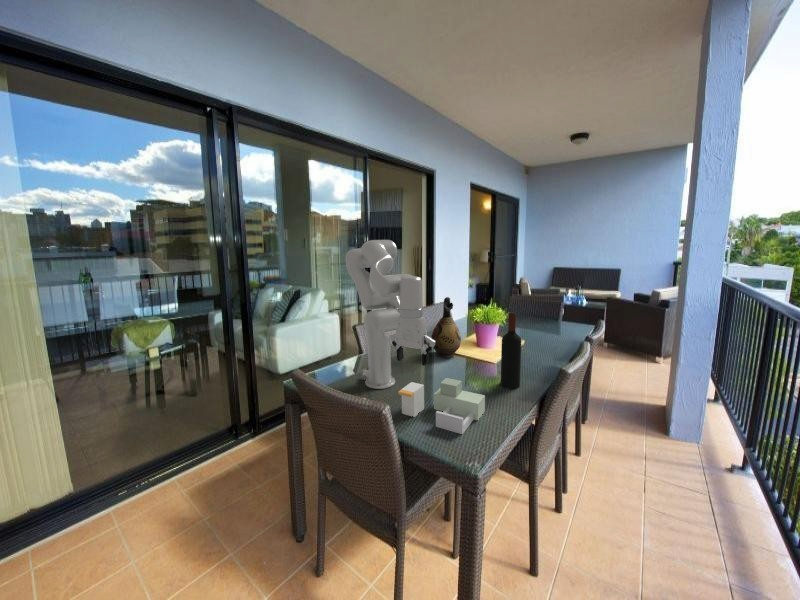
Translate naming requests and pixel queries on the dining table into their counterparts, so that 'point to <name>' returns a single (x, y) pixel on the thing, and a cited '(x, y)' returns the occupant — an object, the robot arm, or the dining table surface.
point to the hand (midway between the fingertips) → (412, 362)
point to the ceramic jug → (446, 333)
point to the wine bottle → (511, 356)
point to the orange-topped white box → (412, 399)
